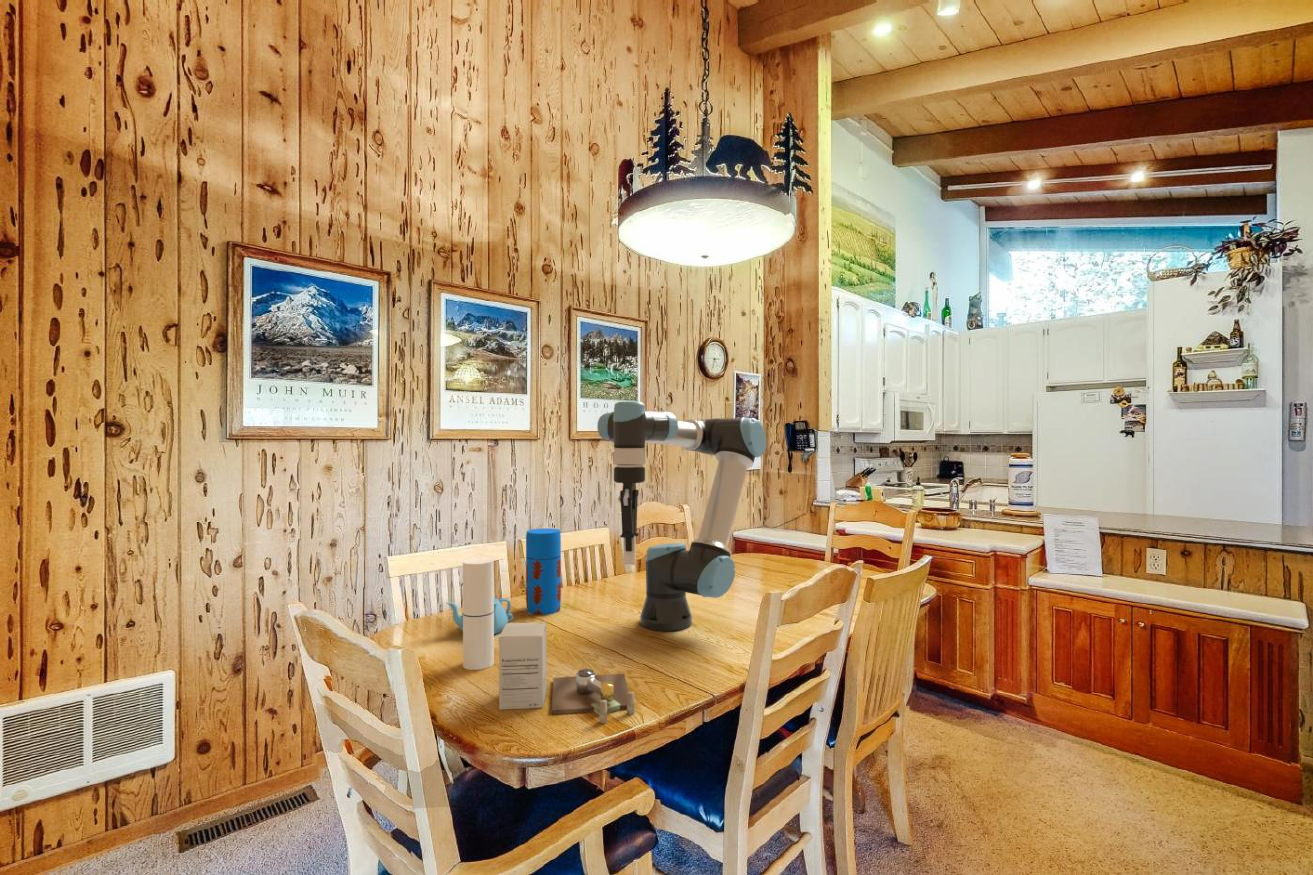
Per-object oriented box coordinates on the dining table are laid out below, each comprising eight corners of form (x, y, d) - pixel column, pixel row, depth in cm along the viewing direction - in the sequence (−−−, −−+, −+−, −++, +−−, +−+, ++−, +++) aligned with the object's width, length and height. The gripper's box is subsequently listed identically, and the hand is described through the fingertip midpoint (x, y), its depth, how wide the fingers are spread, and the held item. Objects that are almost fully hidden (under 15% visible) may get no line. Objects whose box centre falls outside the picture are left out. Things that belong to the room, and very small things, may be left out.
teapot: (519, 625, 175) (519, 589, 175) (494, 642, 160) (494, 603, 160) (474, 621, 178) (474, 587, 178) (445, 638, 163) (445, 600, 163)
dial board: (625, 676, 137) (625, 659, 137) (636, 721, 116) (636, 700, 116) (553, 681, 134) (553, 663, 134) (551, 727, 113) (551, 706, 113)
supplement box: (505, 691, 129) (505, 622, 129) (547, 689, 130) (547, 621, 130) (497, 710, 120) (497, 636, 120) (542, 708, 121) (542, 635, 121)
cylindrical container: (466, 672, 140) (465, 565, 140) (460, 661, 146) (460, 559, 146) (496, 666, 143) (496, 562, 143) (490, 656, 149) (490, 556, 149)
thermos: (553, 616, 183) (553, 534, 183) (520, 614, 185) (520, 533, 185) (565, 606, 193) (565, 528, 193) (534, 604, 196) (534, 527, 195)
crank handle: (572, 688, 128) (572, 670, 128) (588, 683, 130) (588, 666, 130) (602, 707, 119) (602, 688, 119) (619, 702, 121) (619, 683, 121)
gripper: (618, 464, 151) (618, 558, 151) (608, 467, 138) (609, 569, 138) (648, 464, 150) (648, 558, 150) (641, 467, 137) (641, 570, 137)
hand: (629, 563), depth 144 cm, fingers closed
